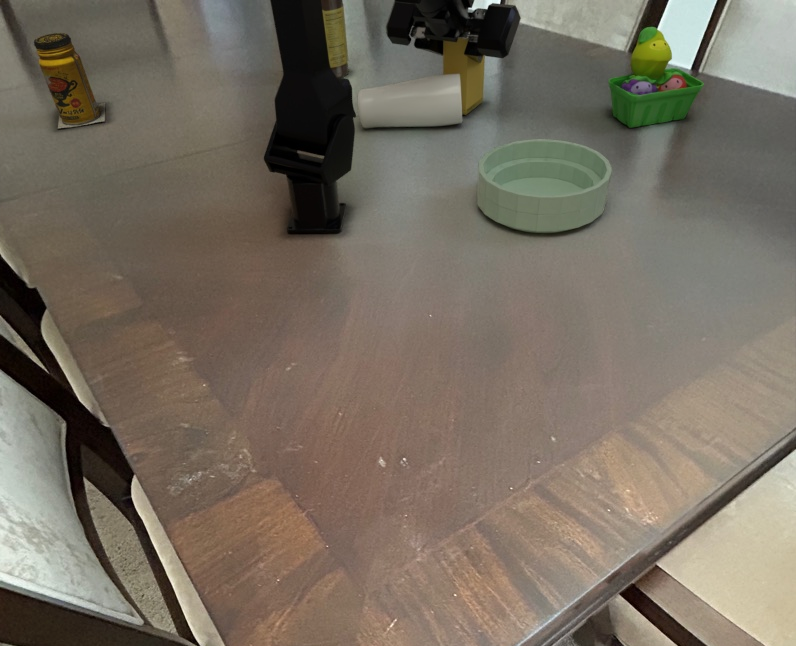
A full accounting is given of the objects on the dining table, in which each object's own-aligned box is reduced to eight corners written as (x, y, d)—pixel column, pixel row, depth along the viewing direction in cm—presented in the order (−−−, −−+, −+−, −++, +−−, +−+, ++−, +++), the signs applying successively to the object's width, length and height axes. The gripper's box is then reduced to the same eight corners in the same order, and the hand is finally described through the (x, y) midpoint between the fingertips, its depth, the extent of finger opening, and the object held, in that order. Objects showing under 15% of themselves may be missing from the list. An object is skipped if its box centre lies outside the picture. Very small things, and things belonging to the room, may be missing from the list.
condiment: (57, 130, 106) (24, 46, 97) (60, 111, 112) (29, 31, 103) (105, 122, 107) (76, 40, 99) (105, 104, 113) (78, 25, 105)
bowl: (613, 237, 76) (622, 196, 72) (478, 238, 77) (480, 197, 73) (594, 176, 86) (600, 137, 83) (475, 178, 87) (477, 140, 84)
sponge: (466, 115, 102) (468, 27, 94) (442, 111, 104) (443, 24, 95) (482, 101, 106) (486, 15, 97) (460, 98, 107) (462, 13, 99)
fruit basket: (626, 133, 95) (642, 46, 87) (596, 111, 101) (609, 28, 94) (697, 121, 97) (720, 35, 89) (664, 100, 103) (682, 18, 95)
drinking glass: (360, 137, 98) (462, 127, 97) (354, 86, 95) (460, 75, 93) (364, 129, 104) (461, 119, 102) (358, 81, 100) (459, 70, 99)
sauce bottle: (312, 70, 120) (295, -64, 106) (347, 66, 121) (334, -67, 107) (316, 82, 116) (299, -56, 102) (351, 78, 117) (339, -60, 103)
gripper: (521, -67, 82) (545, 11, 97) (391, -74, 90) (431, -1, 104) (490, 22, 83) (518, 86, 97) (364, 8, 90) (408, 70, 105)
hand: (468, 58), depth 101 cm, fingers closed on sponge, 4 cm apart
